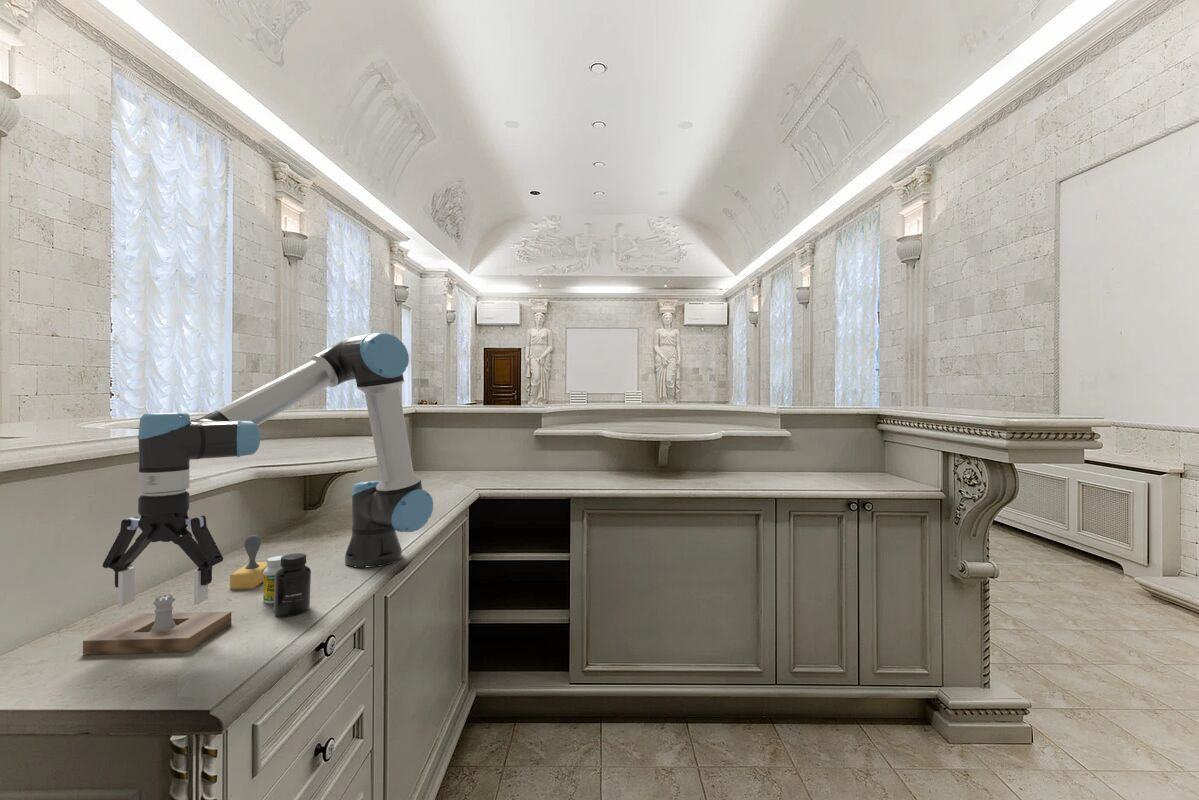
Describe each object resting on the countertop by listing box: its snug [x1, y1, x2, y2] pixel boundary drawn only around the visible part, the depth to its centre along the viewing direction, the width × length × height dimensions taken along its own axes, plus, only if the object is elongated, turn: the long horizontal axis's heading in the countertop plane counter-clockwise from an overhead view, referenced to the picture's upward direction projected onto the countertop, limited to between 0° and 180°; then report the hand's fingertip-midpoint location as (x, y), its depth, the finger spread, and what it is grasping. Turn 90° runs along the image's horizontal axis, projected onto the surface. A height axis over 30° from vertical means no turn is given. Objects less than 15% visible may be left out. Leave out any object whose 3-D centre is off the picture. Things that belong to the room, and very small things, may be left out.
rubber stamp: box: [229, 534, 268, 590], centre depth 130 cm, size 10×6×12 cm, turn 11°
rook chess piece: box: [150, 593, 177, 632], centre depth 98 cm, size 4×4×8 cm
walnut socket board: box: [82, 611, 232, 655], centre depth 98 cm, size 18×12×2 cm, turn 94°
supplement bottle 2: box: [273, 552, 312, 618], centre depth 112 cm, size 7×7×12 cm
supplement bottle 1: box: [262, 555, 283, 605], centre depth 118 cm, size 5×5×10 cm
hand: (163, 602), depth 98 cm, fingers open, 13 cm apart
